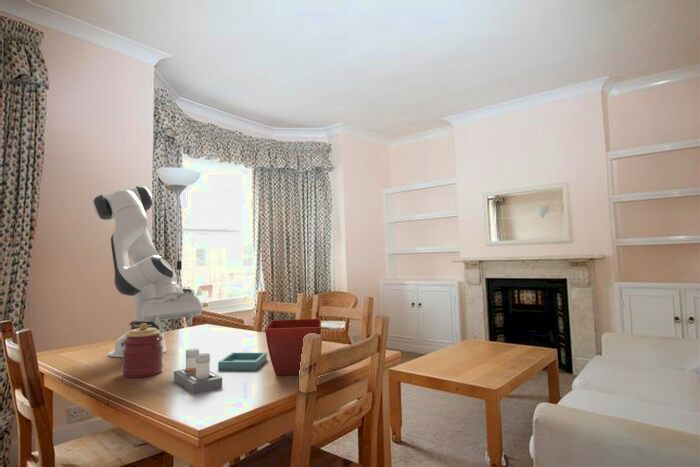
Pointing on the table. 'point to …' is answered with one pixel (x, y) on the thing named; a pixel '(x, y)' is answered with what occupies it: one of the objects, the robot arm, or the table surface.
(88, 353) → the table surface
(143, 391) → the table surface
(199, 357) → the fuse
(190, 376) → the fuse block
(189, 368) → the grey capped cylinder
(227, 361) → the tray
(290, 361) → the plant pot
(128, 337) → the canister
